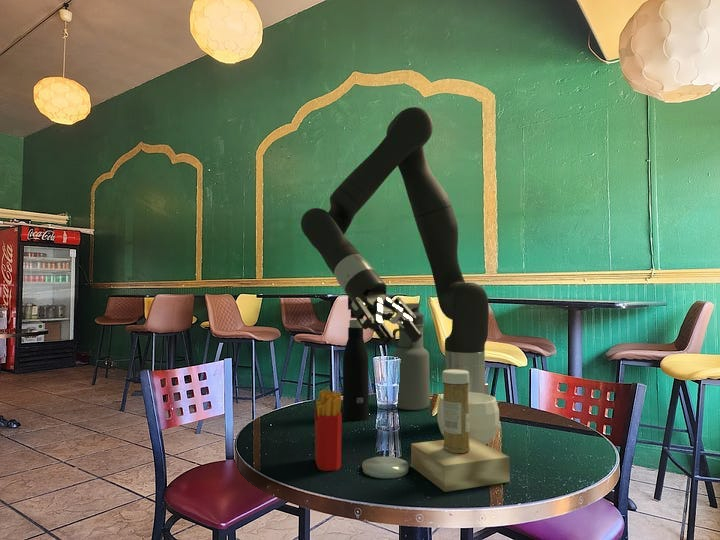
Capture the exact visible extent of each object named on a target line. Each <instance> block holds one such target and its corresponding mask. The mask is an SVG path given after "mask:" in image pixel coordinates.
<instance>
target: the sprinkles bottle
mask: <svg viewBox="0 0 720 540" xmlns="http://www.w3.org/2000/svg"><path fill="white" fill-rule="evenodd" d="M441 381H442V384H443V387H442V390H443V392H442V395H443V429H444V436H443V440H444V449H445V450H446V451H448V452H451V453H466V452H468V451H469V450H470V446H469V405H468V385H469V384H468V383H469V372H468V371H465V370H457V369H451V370H445V369H444V370H443V371H442V373H441Z"/></svg>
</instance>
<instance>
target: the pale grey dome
mask: <svg viewBox="0 0 720 540" xmlns="http://www.w3.org/2000/svg"><path fill="white" fill-rule="evenodd" d="M361 469H363V470H362V472H363V474H365V475H366V474H367V475H366V476H368V475H369V477H373V478H376V479H396V478H401V477H403V476H405V475H407V474H409V473H408V472H409V463H408V461H406V460H404V459H402V458H399V457H394V456H374V457H371V458H367V459H365V460H363V461H362V468H361Z"/></svg>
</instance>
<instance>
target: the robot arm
mask: <svg viewBox="0 0 720 540" xmlns="http://www.w3.org/2000/svg"><path fill="white" fill-rule="evenodd" d="M433 123H434V122H433V120H432V117H431V115H430V114H429V113H428V111H426V110H425V109H423V108H421V107H416V106H412V107H411V106H410V107H407V108H404V109H402V110H401V111H400V112H399V113H398V114H396V116H395V117H394V118H393V119H391V121H390V123H389V124H388V126H387V128H386V136H385V137H384V138H383V139H382V140H381V142H380V143H379V144H378V146H377V147H376V148H375V149H374V150H373V151H372V152H371V153H370V154H369V155H368V156H367V157H366V158H365V159H364V160H363V161H362V162H360V164H359V165H358V166H357V167H356V168H355V169H353V171H352V172H351V173H349V174H348V175H347V177H346V178H344V180H343V181H342V182H341V183H340V184H339V185H338V186H337V188H336V189H335V190H333V192H332V194H331V195H330V197H329V203H330V209H329V211H327V210H325V209H323V208H320V207H314V208H313V207H312V208H310V209H308V210H306V211H305V212H304V214H303V215H302V217H301V218H300V219H301V220H300V229H301V231H302V233H303V235H304V236H305V237H306V239H307V240H308V241H309V242H310V244H311V245H312V246H313V247H314V248H315V249H316V250H317V252H318V253H319V254H320V255H321V257H322V259H323V261H324V262H325V264H326V266H327V267H328V268H329V270H330V271H331V273H332V274H333V276H334V277H335V279H336V280H337V283H338V284H339V286H340V287H341V289H342V290H343V292H344V293H345V294H346V295H347V298H348V297H349V298H350V300H351V301H352V302H353V303H352V304H351V305H350V307H349V308H350V310H349V311H350V312H351V311H352V313H353V314H354V316H355V317H356V318H355V320H358V322H359V323H360V325H361V326H362V328H363V330H367V329H369V330H370V331H372V332H374V333H375V334H376V335H377V337H378V338H379V339H380V341H381V342H382V343H383V344H384V346H390V345H391V344H393V340H394V336H393V332H392V331H390V329H389V328H388V327H387V325H386V324H385V323H383V321H388V322H390V323H391V324H392V325H395V324H396V325H397V326H398V325H399V326H401V327H402V328H404V329H403V330H404V331H405V332H406V334H407V335H408V336H409V337H410V339H411V340H412V341H413V342H417V341H418V340H419V339H420V338H421V336H422V335H421V333H420V332H419V330H418V329H417V328H416V327H415V325H414V324H413V320H414V319H415V318H416V316H415V315H414V313H413V312H412V311H411V310H410V309H409V308H408V306H407V305H406V304H405V303H406V302H405V301H404V300H403V299H402V298H401V297H400V296H397V297H396V298H395V299H392V298H391V297H390V296H388V295H387V285H386V283H385V281H384V280H383V279H382V278H381V277H380V275H379V274H378V273H377V271H375V269H374V268H373V267H372V265H371V264H370V262H369V261H368V260H366V258H364V257H363V256H362V254H360V252H359V251H358V250H357V249H356V247H355V246H354V245H353V243H352V242H351V241H349V240H348V238H347V237H346V236H345V234H346V233H347V231H348V229H349V227H350V225H351V223H353V222H352V221H353V219H354V218H355V216H356V214H357V213H358V212H359V211H360V210H361V209H362V208H363V207H364V206H365V204H366V203H367V202H368V201H369V200H370V199H371V198H372V196H373V195H374V194H375V193H376V191H377V190H378V189H379V188H380V186H382V184H383V183H384V182H385V181H386V180H387V178H389V176H390V175H391V174H392V173H393V172H394V170H395V169H396V168H397V167H398V170H399V173H400V175H401V178H402V180H403V184H404V188H405V191H406V195H407V199H408V201H409V204H410V208H411V211H412V215H413V217H414V221H415V224H416V227H417V231H418V233H419V236H420V239H421V241H422V244H423V248H424V250H425V254H426V255H425V256H426V257H427V259H428V263H429V268H430V269H431V273H432V277H433V282H434V287H435V292H436V297H437V301H438V306H439V308H440V310H441V312H442V314H443V315H444V316H445V317H446V318H447V319H449V320H451V321H452V322H451V332H450V334H449V335H448V336H447V337H446V338H445V341H444V370H451V369H457V370H465V371H468V372H469V383H468V384H469V385H468V392H473V393H482V394H487V395H490V385H489V384H488V382H487V383H486V362H485V361H486V358H485V356H486V355H485V353H486V352H485V349H486V348H485V347H486V342H487V340H488V335H489V318H490V317H489V311H490V307H489V306H490V304H489V298H488V294H487V292H486V291H485V289H484V288H483V287H482V286H481V285H480V284H478V283H475V282H466V281H465V278H464V276H463V272H462V270H461V268H460V264H459V258H458V257H459V256H458V245H459V225H458V221H457V218H456V215H455V212H454V209H453V204H452V203H451V202H452V201H451V200H450V197H449V195H448V194H447V192H446V190H445V189H444V188H443V186H442V185H441V183H440V182H439V181H438V179H436V177H435V176H434V174H433V171H432V170H431V167H430V166H429V162H428V159H427V155H426V151H425V147H424V146H425V145H426V144H427V143H428V141H429V140H430V139H431V136H432V134H433V130H434V129H433V128H434V124H433ZM406 313H407V314H408V315H409V316H408V315H407V314H406ZM364 317H365V318H366V319H364ZM399 318H401V320H402V321H403V322H402V321H400V320H399ZM399 326H398V327H399Z"/></svg>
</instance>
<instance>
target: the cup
mask: <svg viewBox="0 0 720 540" xmlns="http://www.w3.org/2000/svg"><path fill="white" fill-rule="evenodd" d="M468 405H469V437H471V438H473V439H475V440H477V441H479V442H481V443H483V444H485V445H488V444H490V443H492V441H493V440H494V438H495V437H497V433H498V430H499V426H500V409H499V405H498V403H497V399H496V397H495V396H492V395H490V394H489V395H487V394H482V393H473V392H468ZM436 412H437V413H436V414H437V416H436V417H437V424H438V428H439V431H440V433H441V435H442V436H443V437H444V429H443V394H440V395H439V400H438V403H437V409H436Z"/></svg>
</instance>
